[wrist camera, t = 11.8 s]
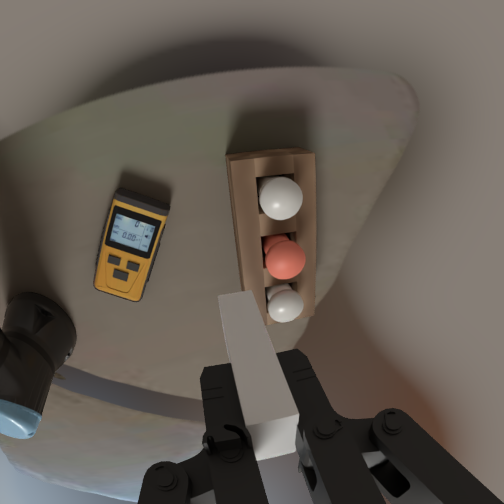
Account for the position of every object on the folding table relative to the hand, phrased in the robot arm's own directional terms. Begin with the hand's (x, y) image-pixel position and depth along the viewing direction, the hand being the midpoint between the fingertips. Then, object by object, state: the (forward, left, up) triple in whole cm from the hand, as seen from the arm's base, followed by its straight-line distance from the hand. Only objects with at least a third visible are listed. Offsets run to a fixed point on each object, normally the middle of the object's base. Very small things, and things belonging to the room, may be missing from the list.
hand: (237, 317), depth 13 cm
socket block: (+8, -9, -29) cm, 31 cm away
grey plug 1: (+8, -1, -28) cm, 29 cm away
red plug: (+8, -9, -27) cm, 29 cm away
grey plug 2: (+8, -16, -28) cm, 33 cm away
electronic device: (-13, -8, -29) cm, 33 cm away
